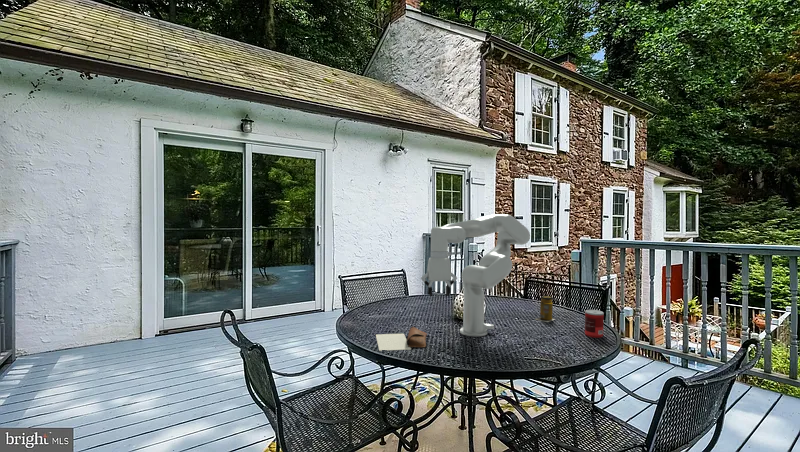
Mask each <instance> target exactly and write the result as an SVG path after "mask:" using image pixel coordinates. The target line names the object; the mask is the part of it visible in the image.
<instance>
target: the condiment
mask: <svg viewBox="0 0 800 452" xmlns="http://www.w3.org/2000/svg"><path fill="white" fill-rule="evenodd" d="M540 299H541V300H540V303H539V304H540V307H539V308H540V310H539V317H537V318H535V320H537V321H540V322H544V323H550V322H552V321H554V320H556V318H553V308H554V307H553V305H554V303H553V297H552V296H549V295H548V296H547V295H542V296H541V298H540Z"/></svg>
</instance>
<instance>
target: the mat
mask: <svg viewBox="0 0 800 452" xmlns="http://www.w3.org/2000/svg"><path fill="white" fill-rule="evenodd" d="M375 336H376V337H375V338H376V342H377V347H378V350H379V352H383V351H382V350H387V351H404V350H405V351H406V350H407V351H409V350H412V347H409V346H408V345H407V338H406V335H405V334H404V333H383V334H375Z"/></svg>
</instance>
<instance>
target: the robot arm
mask: <svg viewBox="0 0 800 452" xmlns="http://www.w3.org/2000/svg"><path fill="white" fill-rule="evenodd" d="M493 233H497V236H496V237H497V242H496V246H495V247H494V248H492V249H491V250H490V251H489V252H487V253H486V254H484V255H483V256H482V257H481V258H480V260H479V261H478V262H479V263H478V265H476V264H470V265H467V266H465V267H464V268H463V270H462V272H461V282H462V286H463V306H462V307H463V316H462V317H463V318H462V320H463V322H462V324H463V325H462V326H463V327H461V328H460V329H459V333H460V334H461V335H464V336H467V337H474V338H475V337H477V338H478V337H484V336H487V335H488V330H494V329H495V325H494V324H490V323H485V292H484V289H487V290H490V289H492V288H494V287H496V286H497V285H498V284H499V283H501V281H503V280H504V279H505V278H506V277H508V275H510V273H511V272H512V269H513V262H512V259H511V255H512V251H511V248H512V247H511V245H519V246H520V245H521V246H522V245H523V246H524V245H526V244H528V243H529V241H530V239H531V233H530V231H529V229H528V228H527V227H526V226H525V225H524V224H523V223H521V222H520V221H519V220H518V219H517V218H515V217H514V216H513V215H510V214H508V213H507V214H505V213H500V214H499V213H498V214H497V213H495V214H490V215H485V216H483V217H479V218H474V219H469V220H463V221H458V222H453V223H448V224H445V225H442V226H433V227H432V228H431V229H430V257H429V258H428V261H427V270H426V273H425V274H423V276H421V277H420V280H421V281H422V282H423V283H424V284H425V285H426V286H427V294H428V296H430V297H433V287H432V286H433V283H434V282H445V284H446V285H445V296H447V297H450V294H451V287H452V286H453V284H454V283H455V282H456V281H457V280H458V277H457V276H456V275H455V274H454V273H452V269H451V268H452V266H451V261H450V256H452V252H449V244H461V243H463V242H464V241H465V240H466V239H467V238H479V237H484V236H487V235H491V234H493ZM427 280H428V281H427Z"/></svg>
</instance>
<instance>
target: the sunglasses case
mask: <svg viewBox="0 0 800 452" xmlns="http://www.w3.org/2000/svg"><path fill="white" fill-rule="evenodd" d="M407 333H408V335H407V338H406V339H407V345H408V346H409V347H410V348H427V341H426V340H427V336H428V333H427V332H424V331H422V330H420V329H418V328H417V327H415V326H411V327H410V328H409V330H408V332H407Z"/></svg>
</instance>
